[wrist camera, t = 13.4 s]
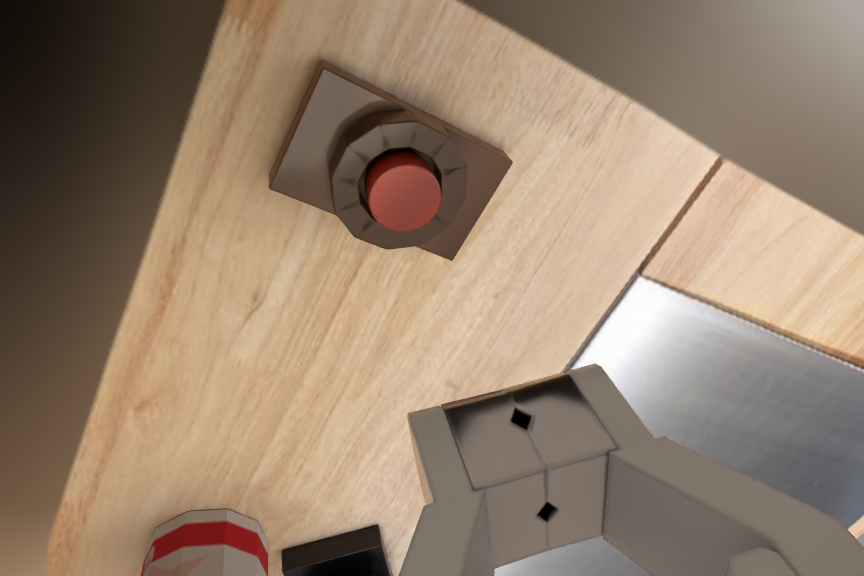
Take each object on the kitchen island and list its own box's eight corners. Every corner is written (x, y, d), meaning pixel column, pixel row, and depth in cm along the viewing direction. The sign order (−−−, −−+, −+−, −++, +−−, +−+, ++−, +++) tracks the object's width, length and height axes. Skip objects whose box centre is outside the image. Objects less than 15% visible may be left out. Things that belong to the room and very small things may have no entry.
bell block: (267, 177, 29) (267, 204, 27) (321, 57, 27) (326, 75, 25) (445, 249, 34) (459, 278, 31) (505, 151, 31) (525, 173, 29)
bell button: (352, 201, 28) (356, 217, 27) (384, 139, 27) (390, 152, 26) (413, 227, 30) (419, 242, 28) (446, 168, 28) (454, 182, 27)
